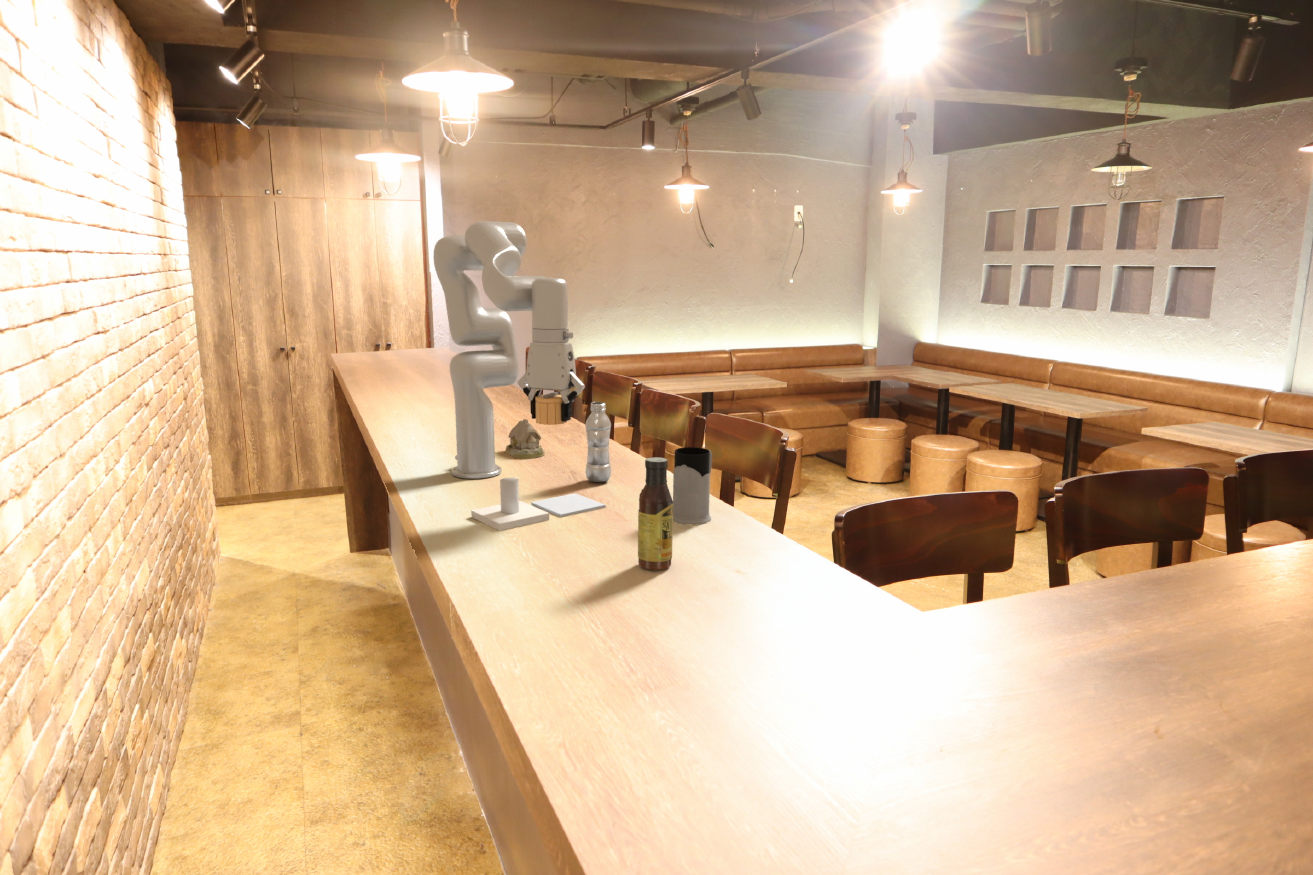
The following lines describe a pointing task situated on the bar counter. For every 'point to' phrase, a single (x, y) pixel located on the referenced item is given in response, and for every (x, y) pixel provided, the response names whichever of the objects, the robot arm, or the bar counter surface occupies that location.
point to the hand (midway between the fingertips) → (551, 418)
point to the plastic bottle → (598, 444)
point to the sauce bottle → (655, 518)
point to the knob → (549, 409)
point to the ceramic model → (524, 441)
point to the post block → (509, 509)
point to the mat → (568, 505)
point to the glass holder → (691, 485)
